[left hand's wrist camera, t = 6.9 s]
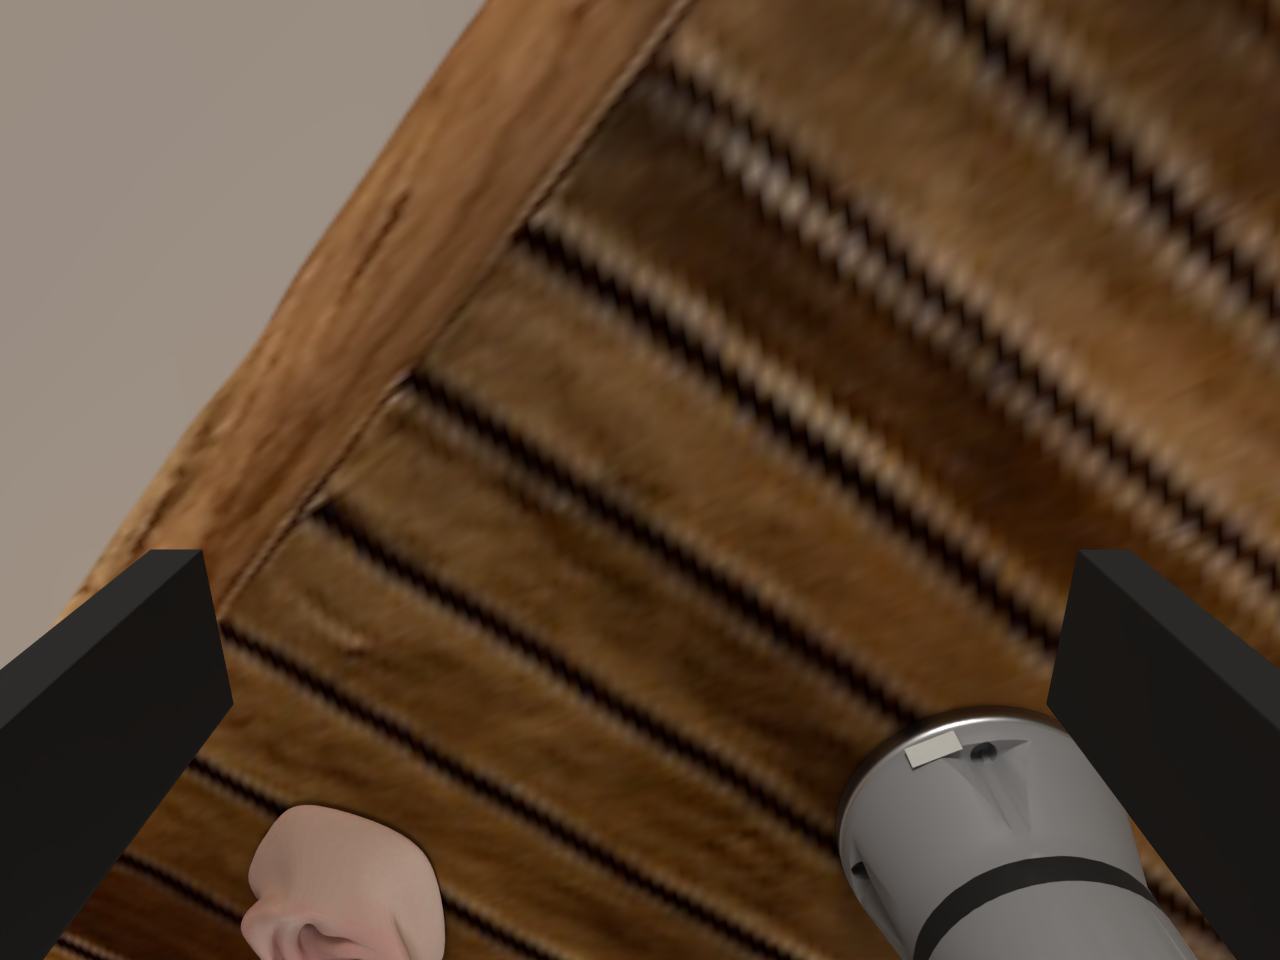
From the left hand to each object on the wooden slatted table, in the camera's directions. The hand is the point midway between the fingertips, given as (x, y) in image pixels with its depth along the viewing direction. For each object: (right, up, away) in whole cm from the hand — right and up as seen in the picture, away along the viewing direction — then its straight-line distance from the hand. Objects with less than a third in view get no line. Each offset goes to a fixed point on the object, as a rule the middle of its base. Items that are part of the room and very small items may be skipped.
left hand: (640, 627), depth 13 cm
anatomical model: (-17, -22, +37) cm, 46 cm away
